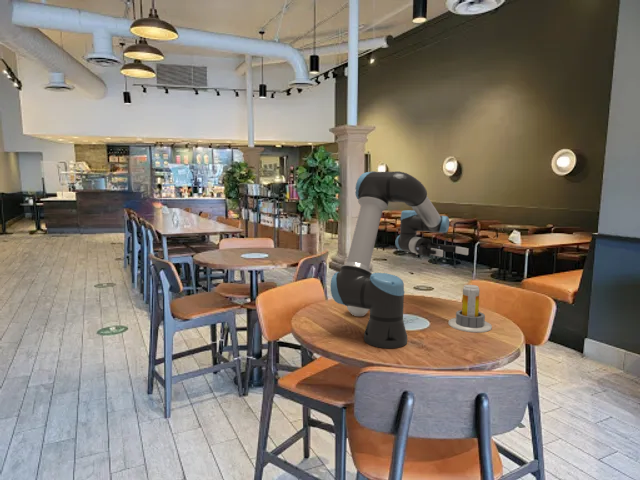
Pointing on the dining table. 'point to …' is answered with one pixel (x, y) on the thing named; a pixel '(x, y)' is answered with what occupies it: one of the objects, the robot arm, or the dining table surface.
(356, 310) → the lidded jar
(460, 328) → the collar stand
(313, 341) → the dining table surface
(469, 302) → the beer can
